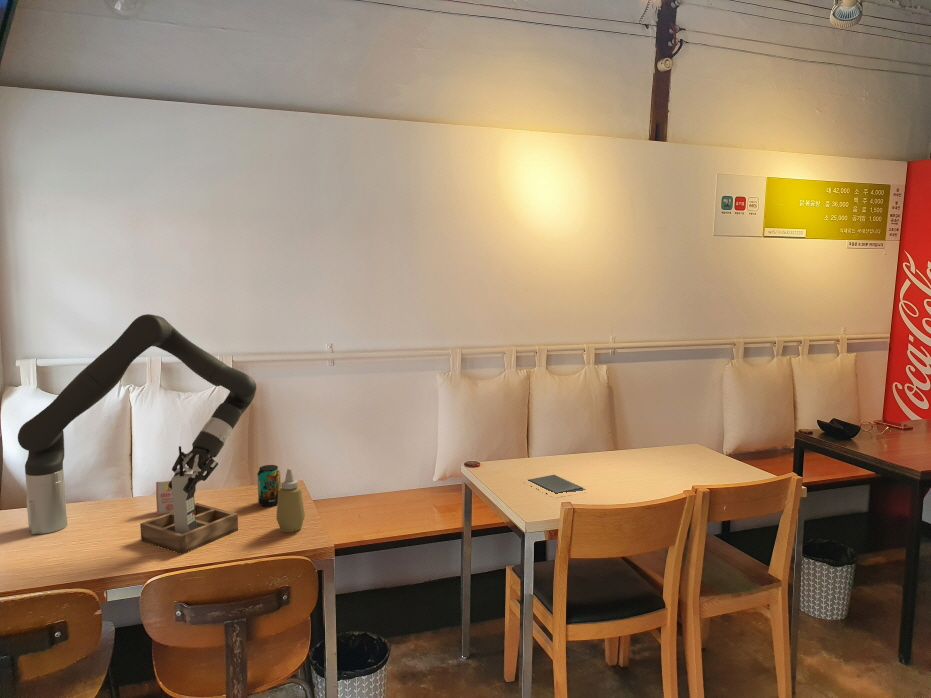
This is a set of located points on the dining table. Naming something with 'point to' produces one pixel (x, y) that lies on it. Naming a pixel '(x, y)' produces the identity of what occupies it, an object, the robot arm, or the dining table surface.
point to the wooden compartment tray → (210, 529)
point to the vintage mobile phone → (183, 502)
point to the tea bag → (164, 498)
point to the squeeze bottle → (290, 504)
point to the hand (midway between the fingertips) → (178, 489)
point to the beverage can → (268, 485)
